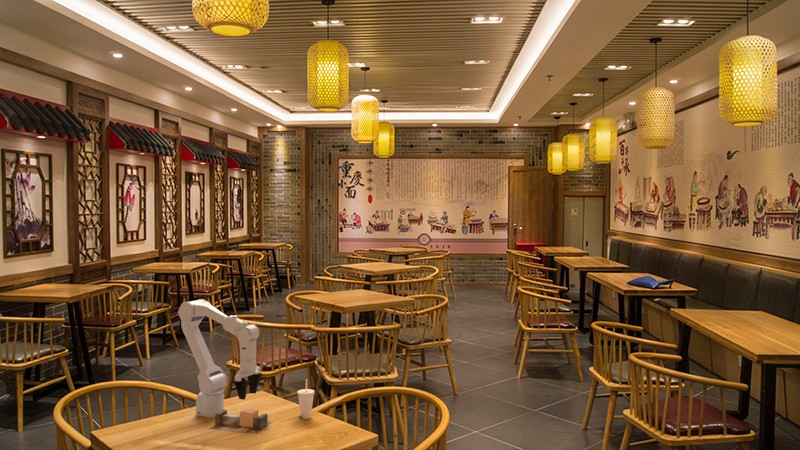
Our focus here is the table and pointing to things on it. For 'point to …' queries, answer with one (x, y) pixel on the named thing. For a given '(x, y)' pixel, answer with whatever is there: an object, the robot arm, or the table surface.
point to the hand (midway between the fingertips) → (247, 396)
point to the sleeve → (248, 417)
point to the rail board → (230, 427)
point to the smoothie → (305, 402)
